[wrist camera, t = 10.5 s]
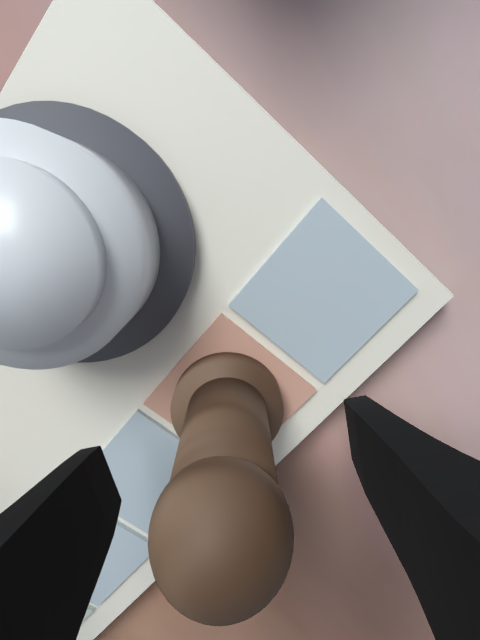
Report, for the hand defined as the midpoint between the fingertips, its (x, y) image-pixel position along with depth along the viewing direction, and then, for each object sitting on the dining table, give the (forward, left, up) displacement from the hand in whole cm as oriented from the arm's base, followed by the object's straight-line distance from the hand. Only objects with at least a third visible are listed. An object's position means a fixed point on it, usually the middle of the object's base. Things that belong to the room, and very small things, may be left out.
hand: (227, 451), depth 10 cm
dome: (-7, +1, -2) cm, 8 cm away
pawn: (0, 0, -3) cm, 3 cm away
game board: (-4, -5, -4) cm, 8 cm away
